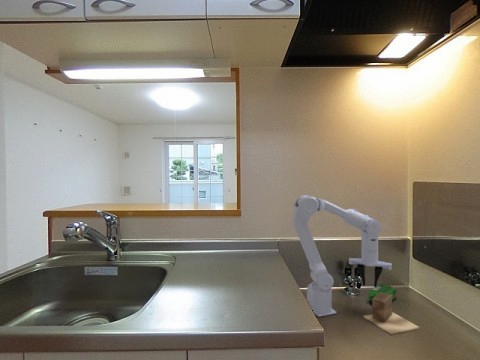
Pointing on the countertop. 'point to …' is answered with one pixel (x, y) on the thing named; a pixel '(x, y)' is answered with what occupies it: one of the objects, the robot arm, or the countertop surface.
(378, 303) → the slab
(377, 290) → the snack package
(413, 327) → the plate
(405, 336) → the countertop surface
